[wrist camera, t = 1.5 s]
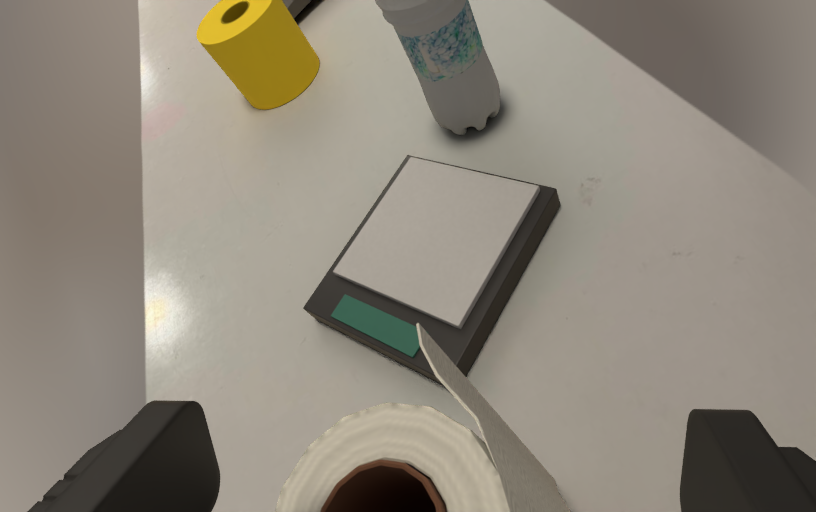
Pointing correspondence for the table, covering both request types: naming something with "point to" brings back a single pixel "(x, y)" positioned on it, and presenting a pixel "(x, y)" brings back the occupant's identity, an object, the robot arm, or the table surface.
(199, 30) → the yellow toilet paper roll
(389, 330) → the scale
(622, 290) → the table surface
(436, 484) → the paper towel roll
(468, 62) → the bottle
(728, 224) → the table surface
